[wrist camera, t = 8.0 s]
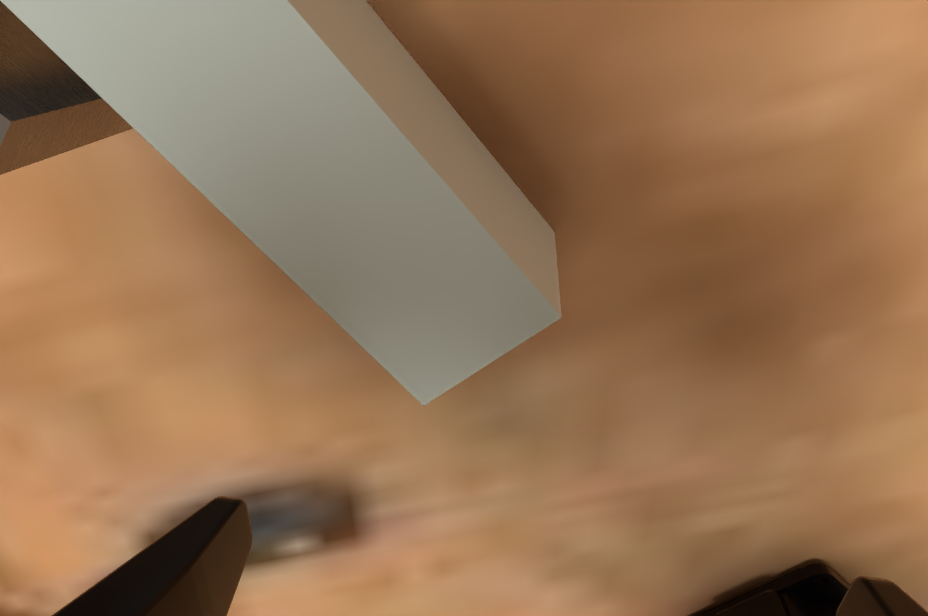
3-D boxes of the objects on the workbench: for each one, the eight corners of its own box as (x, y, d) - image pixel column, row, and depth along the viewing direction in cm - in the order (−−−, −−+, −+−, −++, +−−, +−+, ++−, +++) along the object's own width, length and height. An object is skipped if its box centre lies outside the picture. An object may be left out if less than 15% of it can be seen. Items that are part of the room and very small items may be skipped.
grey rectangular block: (554, 229, 16) (561, 317, 12) (450, 304, 18) (423, 405, 14) (228, -171, 13) (69, -252, 8) (133, -33, 14) (-43, -41, 10)
